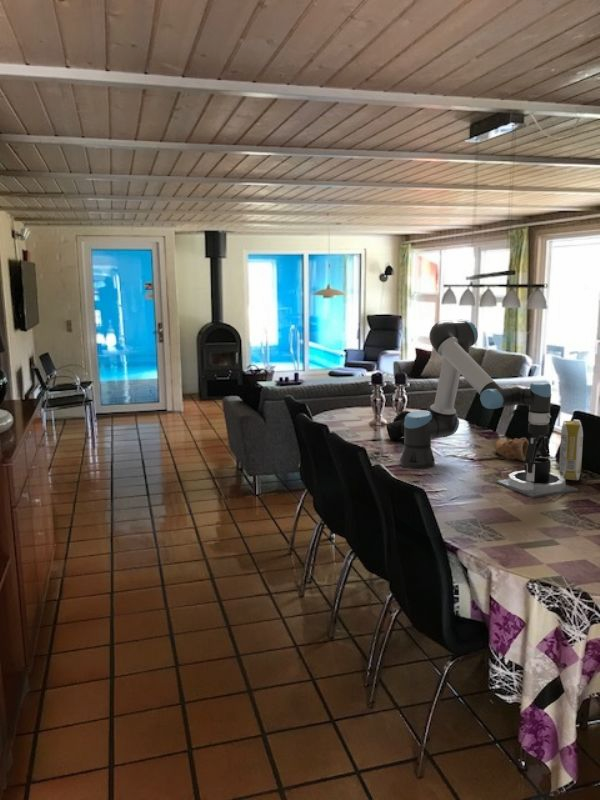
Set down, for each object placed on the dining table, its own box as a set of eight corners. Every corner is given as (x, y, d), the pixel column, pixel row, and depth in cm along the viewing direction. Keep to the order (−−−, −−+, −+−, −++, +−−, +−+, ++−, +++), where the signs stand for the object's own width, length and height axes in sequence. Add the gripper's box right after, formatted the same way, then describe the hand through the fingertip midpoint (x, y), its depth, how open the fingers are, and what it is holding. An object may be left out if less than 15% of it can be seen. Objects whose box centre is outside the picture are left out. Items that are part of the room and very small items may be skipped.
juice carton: (580, 481, 251) (584, 422, 247) (559, 479, 254) (562, 421, 250) (579, 475, 260) (582, 418, 256) (558, 473, 262) (561, 417, 258)
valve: (394, 429, 306) (382, 415, 335) (401, 456, 309) (388, 441, 338) (437, 416, 306) (421, 404, 335) (444, 444, 309) (427, 429, 338)
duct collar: (532, 497, 232) (533, 487, 231) (496, 482, 251) (496, 473, 250) (577, 491, 239) (578, 481, 238) (539, 476, 258) (539, 467, 258)
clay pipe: (500, 470, 283) (535, 461, 278) (493, 448, 281) (528, 439, 277) (498, 458, 300) (530, 450, 296) (491, 437, 299) (524, 429, 295)
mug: (516, 484, 245) (516, 460, 244) (537, 480, 251) (537, 456, 250) (533, 489, 238) (533, 464, 237) (555, 484, 244) (555, 459, 243)
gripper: (537, 429, 229) (534, 486, 232) (559, 419, 248) (557, 471, 251) (517, 427, 234) (514, 482, 237) (540, 417, 253) (538, 468, 256)
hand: (536, 476), depth 244 cm, fingers open, 13 cm apart
